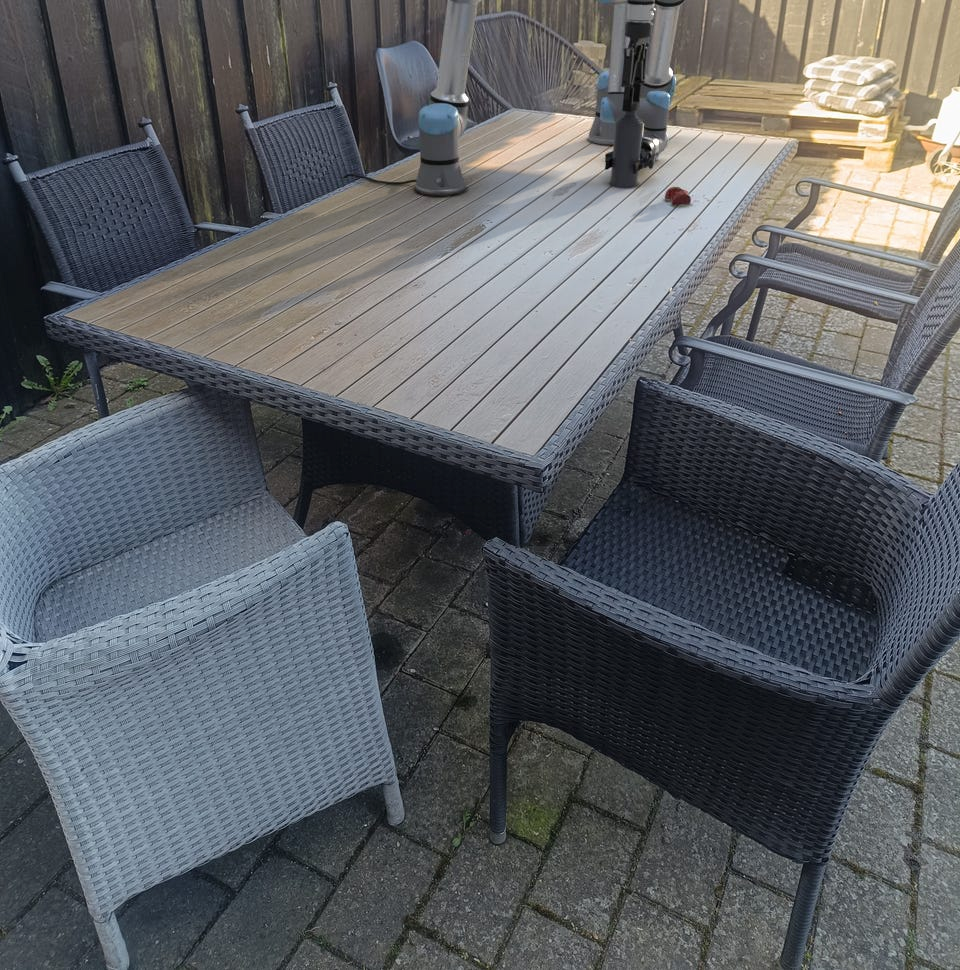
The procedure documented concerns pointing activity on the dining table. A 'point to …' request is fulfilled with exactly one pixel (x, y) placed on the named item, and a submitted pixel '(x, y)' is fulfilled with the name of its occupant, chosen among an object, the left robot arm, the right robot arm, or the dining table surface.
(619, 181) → the bottle
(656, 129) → the right robot arm
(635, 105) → the cap
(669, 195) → the dental model
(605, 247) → the dining table surface
